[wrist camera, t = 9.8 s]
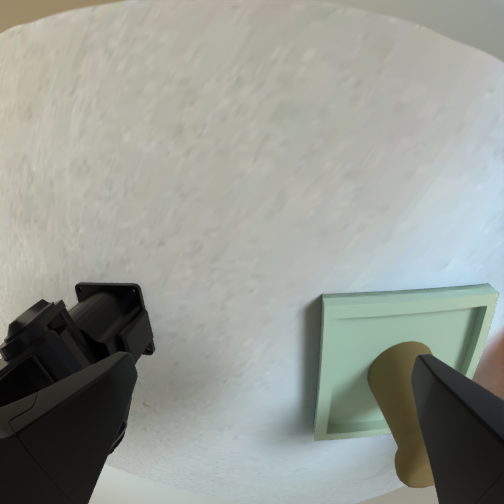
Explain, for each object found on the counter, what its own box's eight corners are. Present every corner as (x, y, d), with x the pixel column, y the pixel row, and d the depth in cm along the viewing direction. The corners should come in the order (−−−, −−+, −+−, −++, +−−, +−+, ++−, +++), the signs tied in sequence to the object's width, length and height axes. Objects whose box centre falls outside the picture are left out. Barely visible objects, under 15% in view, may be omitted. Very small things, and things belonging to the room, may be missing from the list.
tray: (313, 426, 26) (314, 440, 25) (322, 294, 22) (324, 305, 20) (448, 410, 25) (453, 421, 23) (488, 283, 20) (499, 292, 18)
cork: (436, 333, 21) (495, 431, 11) (429, 386, 23) (469, 480, 13) (366, 350, 22) (398, 465, 12) (367, 402, 24) (388, 507, 14)
